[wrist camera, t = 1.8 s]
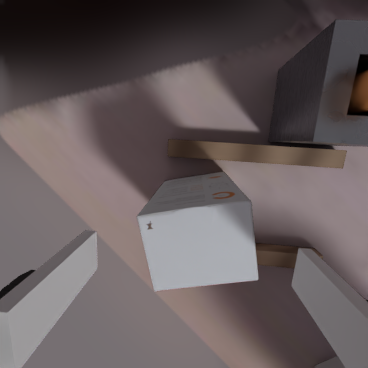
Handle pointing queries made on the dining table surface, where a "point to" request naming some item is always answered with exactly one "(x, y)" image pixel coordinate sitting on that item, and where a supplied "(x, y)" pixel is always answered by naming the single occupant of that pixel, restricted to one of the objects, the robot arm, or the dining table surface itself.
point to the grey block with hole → (323, 89)
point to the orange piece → (359, 94)
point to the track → (262, 154)
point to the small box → (199, 233)
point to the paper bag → (331, 363)
